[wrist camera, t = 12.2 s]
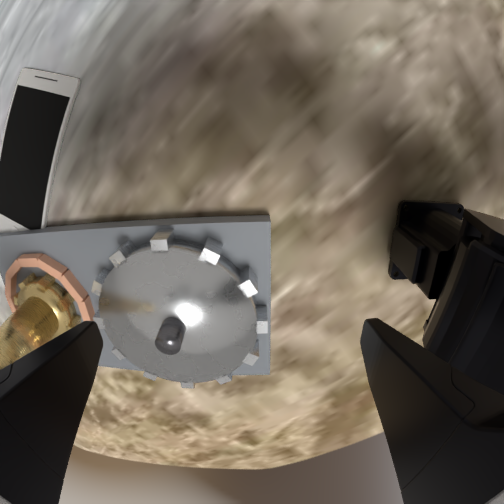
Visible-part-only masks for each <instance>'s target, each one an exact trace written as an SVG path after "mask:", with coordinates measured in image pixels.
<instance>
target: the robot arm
mask: <svg viewBox="0 0 504 504" xmlns="http://www.w3.org/2000/svg"><path fill="white" fill-rule="evenodd" d="M405 205H407V208H406V209H405V210H404V206H405ZM458 208H459V211H457V210H458ZM462 219H463V221H462ZM390 259H391V263H390V269H389V275H390V277H391V278H392V279H394V280H396V279H409V280H410V282H411V283H412V284H416V285H417V286H418V287H419V288H420V289H421V290H422V292H423V293H424V294H425V295H426V296H427V297H428V299H436V302H435V304H434V306H433V309H432V311H431V313H430V316H429V318H428V320H426V322H425V324H424V326H423V328H424V335H423V339H422V340H423V345H424V347H422V346H421V345H419V344H417V343H416V342H414V341H413V340H411V339H410V338H408V337H406V336H405V335H403V334H402V333H400V332H399V331H397V330H395V329H394V328H392V327H391V326H389V325H388V324H386V323H384V322H383V321H381V320H380V319H378V318H371V319H366V320H365V322H364V325H363V330H362V334H361V339H360V344H361V349H362V354H363V358H364V363H365V368H366V372H367V377H368V382H369V385H370V388H371V391H372V395H373V398H374V401H375V404H376V407H377V410H378V413H379V416H380V419H381V423H382V426H383V429H384V432H385V435H386V439H387V442H388V445H389V449H390V453H391V456H392V460H393V463H394V467H395V471H396V474H397V478H398V482H399V486H400V489H401V494H402V498H403V502H404V504H504V219H500V218H497V217H494V216H490V215H487V214H483V213H480V212H476V211H472V210H469V209H464V207H463V206H462V205H461V204H459V203H449V202H433V201H415V200H402V201H401V202H400V203H399V206H398V215H397V223H396V227H395V229H394V233H393V240H392V247H391V253H390ZM396 271H397V273H396V274H394V272H396ZM393 274H394V275H393ZM102 349H103V338H102V336H101V333H100V330H99V327H98V325H97V323H96V322H95V321H87V320H86V321H83V322H82V323H80V324H78V325H76V326H75V327H73V328H71V329H69V330H68V331H66V332H64V333H62V334H61V335H59V336H57V337H55V338H54V339H52V340H50V341H49V342H47V343H45V344H43V345H42V346H40V347H38V348H37V349H35V350H33V351H31V352H30V353H28V354H26V355H25V356H23V357H21V358H20V359H18V360H16V361H14V362H13V363H11V364H9V365H8V366H6V367H4V368H3V369H1V370H0V504H58V503H59V499H60V494H61V490H62V486H63V481H64V480H63V479H64V477H65V473H66V469H67V465H68V461H69V457H70V454H71V450H72V447H73V444H74V440H75V437H76V434H77V430H78V427H79V424H80V421H81V418H82V415H83V412H84V409H85V406H86V403H87V400H88V397H89V394H90V391H91V388H92V386H93V382H94V379H95V376H96V372H97V368H98V364H99V360H100V356H101V352H102Z"/></svg>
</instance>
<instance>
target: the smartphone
mask: <svg viewBox="0 0 504 504" xmlns="http://www.w3.org/2000/svg"><path fill="white" fill-rule="evenodd" d="M80 83H81V80H80V79H79V78H75V77H70V76H66V75H61V74H56V73H51V72H46V71H41V70H35V69H29V68H23V69H22V70H21V72H20V75H19V77H18V81H17V84H16V87H15V90H14V93H13V97H12V100H11V104H10V108H9V112H8V116H7V120H6V124H5V129H4V133H3V138H2V144H1V149H0V233H6V232H18V231H25V230H36V229H44V228H45V227H46V225H47V217H48V210H49V204H50V198H51V192H52V186H53V181H54V176H55V171H56V167H57V162H58V158H59V154H60V150H61V146H62V142H63V138H64V134H65V131H66V127H67V124H68V121H69V117H70V114H71V111H72V108H73V105H74V102H75V99H76V96H77V93H78V90H79V87H80Z"/></svg>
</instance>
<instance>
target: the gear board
mask: <svg viewBox="0 0 504 504" xmlns="http://www.w3.org/2000/svg"><path fill="white" fill-rule="evenodd" d="M159 229H174V231H175V239H181V240H187V241H192V242H195V243H199V244H202V245H205V243H206V241H207V239H208V237H211V238H213V239H215V240H217V241H219V242H221V243H223V247H222V251H221V254H222V255H223V256H225V257H226V258H227V259H229V260H230V261H231V262H232V263H233V264H234V265H235V266H236V267H237V268H238V269H239V270H240V271H241V270H243V269H245V268H247V267H248V266H250V268H251V269H252V270H253V272H254V273H255V275H256V276H257V278H258V293H256V294H254V296H255V300H256V304H257V305H267V319H268V333H264V334H257V338H256V339H257V340H259V358H258V359H257V361H256V362H255V363H254V364H253V366H251V365H248V364H246V363H243V364H242V365H241V366H240V367H239V368H237V369H236V370H235V371H233V372H232V375H270V317H271V221H270V216H269V215H250V216H217V217H191V218H169V219H150V220H133V221H117V222H103V223H89V224H77V225H64V226H53V227H45V228H44V229H36V230H25V231H18V232H6V233H0V273H1V276H2V279H3V282H4V285H5V294H6V298H7V301H8V303H9V306H10V308H11V311H12V313H14V311H15V310H16V309H17V308H18V306H17V305H15V304H14V296H15V295H16V294H17V293H18V292H19V291H20V290H21V289H20V287H19V286H18V284H20V283H21V282H22V281H23V280H24V279H25V278H26V277H28V276H29V275H30V274H32V273H33V272H34V274H35V275H36V277H38V276H43V277H44V276H45V275H46V274H47V273H48V274H50V275H51V276H53V277H55V282H57V283H58V284H59V285H60V286H61V287H62V288H63V289H64V290H65V291H66V292H69V293H70V295H71V296H72V297H73V298H74V300H75V301H74V302H73V303H74V306H75V309H76V313H77V315H79V316H81V323H82V322H83V321H86V320H87V321H94V320H93V316H94V315H95V313H96V312H97V311H98V309H99V296H98V295H96V294H94V293H92V292H91V290H92V286H93V282H94V280H95V279H96V277H97V276H98V275H99V274H100V273H101V272H102V271H103V270H104V269H105V268H106V269H108V270H110V271H111V270H112V269H113V268H114V267H115V266H114V265H113V263H112V262H111V261H110V259H109V257H110V256H111V255H112V254H113V253H114V252H115V251H116V250H117V249H118V248H119V247H120V246H121V245H123V244H124V243H125V242H127V241H128V240H131V241H132V243H133V244H134V245H135V247H137V246H140V245H142V244H144V243H147V242H150V240H151V238H152V237H153V236H154V235H155V234H156V232H157V231H158V230H159ZM99 330H100V333H101V336H102V338H103V349H102V352H101V356H100V360H99V364H98V366H104V367H112V368H120V369H129V370H139V371H144V370H142V369H140V368H139V367H137V366H136V365H134V364H133V363H131V362H130V361H129V360H127V359H126V358H124V359H121V360H119V359H118V358H117V357H116V356H115V355H114V354H113V353H112V352H111V351H112V349H113V347H114V345H113V343H112V342H111V341H110V339H109V337H108V336H107V334H106V332H105V330H104V329H99Z"/></svg>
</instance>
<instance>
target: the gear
mask: <svg viewBox="0 0 504 504" xmlns="http://www.w3.org/2000/svg"><path fill="white" fill-rule="evenodd" d="M222 247H223V243H221V242H219V241H217V240H215V239H213V238H211V237H208V239H207V241H206V243H205V245H202V244H199V243H195V242H192V241H187V240H181V239H175V231H174V229H159V230H158V231H157V232H156V234H155V235H154V236H153V237H152V238H151V240H150V242H147V243H144V244H142V245H140V246H137V247H135V245H134V244H133V243H132V241H131V240H128V241H127V242H125V243H124V244H123V245H121V246H120V247H119V248H118V249H117V250H116V251H115V252H114V253H113V254H112V255H111V256H110V257H109V259H110V261H111V262H112V263H113V265H114V266H115V267H114V268H113V269H112V270H111V271H110V270H108V269H106V268H105V269H104V270H103V271H102V272H101V273H100V274H99V275H98V276H97V277H96V279H95V280H94V282H93V286H92V290H91V292H92V293H94V294H96V295H98V296H99V309H98V311H97V312H96V313H95V315H94V316H93V320H94V321H95V322H96V323H97V325H98V327H99V329H104V330H105V332H106V334H107V336H108V337H109V339H110V341H111V342H112V343H113V345H114V347H113V349H112V351H111V352H112V353H113V354H114V355H115V356H116V357H117V358H118V359H119V360H121V359H124V358H126V359H127V360H129V361H130V362H131V363H133V364H134V365H136V366H137V367H139V368H140V369H142V370H144V371H145V372H144V375H143V376H144V377H147V378H149V379H151V380H153V381H155V380H156V378H157V377H160V378H163V379H167V380H171V381H176V382H180V383H181V387H182V388H194V387H195V383H199V382H207V381H212V380H215V379H216V380H217V381H218V382H219V383H220V384H224V383H226V382H229V381H231V380H232V372H233V371H235V370H236V369H237V368H239V367H240V366H241V365H242V364H243V363H246V364H248V365H251V366H253V364H254V363H255V362H256V361H257V359H258V358H259V340H257V339H256V338H257V334H264V333H268V319H267V305H257V304H256V300H255V296H254V294H256V293H258V278H257V276H256V275H255V273H254V272H253V270H252V269H251V268H250V266H248V267H247V268H245V269H243V270H241V271H240V270H239V269H238V268H237V267H236V266H235V265H234V264H233V263H232V262H231V261H230V260H229V259H227V258H226V257H225V256H223V255H222V254H221V251H222Z"/></svg>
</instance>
